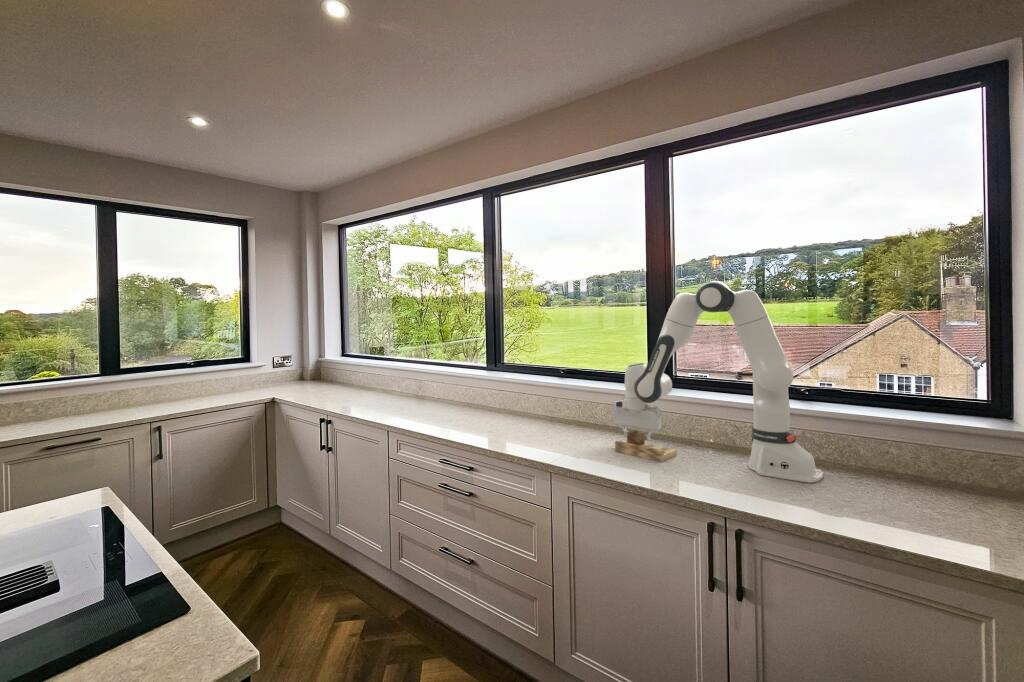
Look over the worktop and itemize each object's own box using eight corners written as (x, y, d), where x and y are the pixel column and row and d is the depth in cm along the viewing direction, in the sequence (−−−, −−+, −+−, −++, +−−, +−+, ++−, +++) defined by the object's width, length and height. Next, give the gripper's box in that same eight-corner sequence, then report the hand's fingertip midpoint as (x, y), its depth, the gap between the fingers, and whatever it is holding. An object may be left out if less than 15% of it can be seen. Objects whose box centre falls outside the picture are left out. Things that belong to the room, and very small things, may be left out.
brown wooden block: (644, 444, 192) (644, 429, 191) (638, 446, 188) (638, 432, 188) (633, 441, 195) (633, 427, 195) (627, 444, 192) (627, 430, 192)
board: (676, 454, 184) (676, 444, 184) (661, 462, 175) (661, 451, 175) (631, 445, 198) (631, 435, 198) (615, 451, 190) (615, 441, 189)
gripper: (664, 405, 186) (664, 440, 186) (619, 399, 200) (619, 432, 201) (656, 408, 181) (656, 444, 182) (610, 402, 196) (611, 435, 197)
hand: (636, 437), depth 192 cm, fingers open, 8 cm apart
